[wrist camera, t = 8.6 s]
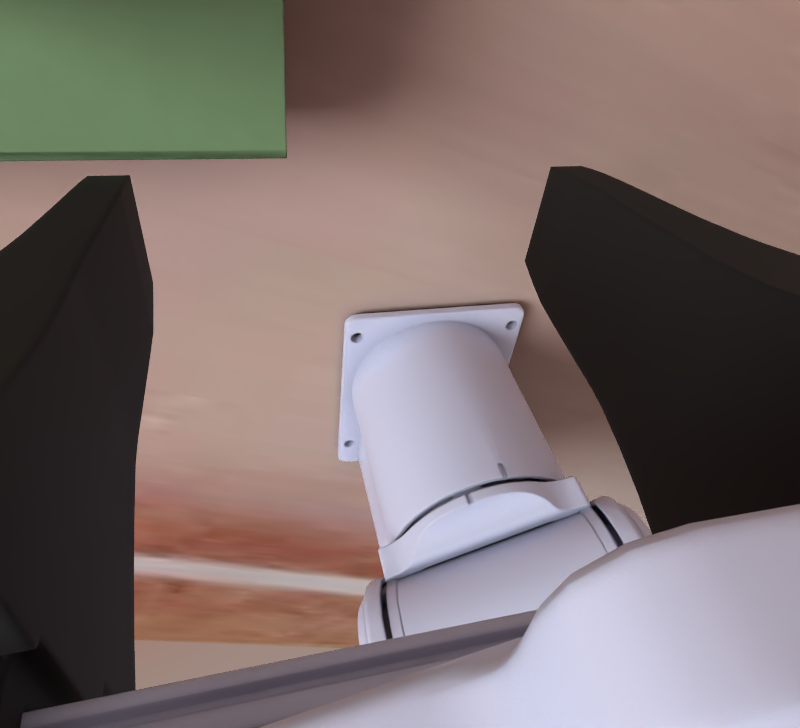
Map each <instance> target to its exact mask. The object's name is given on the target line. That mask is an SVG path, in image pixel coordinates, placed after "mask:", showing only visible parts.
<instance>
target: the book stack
mask: <svg viewBox="0 0 800 728" xmlns="http://www.w3.org/2000/svg"><path fill="white" fill-rule="evenodd" d="M253 158H287V143H286V101H285V59H284V17H283V0H0V161H54V160H154V159H253Z"/></svg>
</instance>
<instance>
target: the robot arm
mask: <svg viewBox="0 0 800 728" xmlns="http://www.w3.org/2000/svg"><path fill="white" fill-rule="evenodd" d="M525 263H526V266H527V268H528V271H529V274H530V277H531V279H532V282H533V285H534V287H535V290H536V292H537V294H538V297H539V299H540V302H541V304H542V305H543V307H544V309H545V311H546V313H547V314H548V316H549V318H550V320H551V321H552V323H553V325H554V326H555V328H556V330H557V332H558V333H559V335H560V337H561V338H562V340H563V342H564V343H565V345H566V347H567V348H568V350H569V352H570V353H571V355H572V357H573V358H574V360H575V362H576V363H577V365H578V367H579V368H580V370H581V372H582V373H583V375H584V377H585V378H586V380H587V382H588V383H589V385H590V387H591V388H592V390H593V392H594V394H595V396H596V398H597V400H598V401H599V403H600V405H601V407H602V409H603V411H604V414H605V416H606V418H607V420H608V423H609V425H610V427H611V429H612V432H613V434H614V436H615V438H616V441H617V443H618V445H619V447H620V450H621V452H622V455H623V457H624V460H625V462H626V465H627V467H628V470H629V472H630V475H631V477H632V480H633V482H634V485H635V487H636V490H637V492H638V495H639V498H640V501H641V504H642V506H643V509H644V512H645V515H646V518H647V521H648V524H649V526H650V529H651V532H652V534H651V532H650V531H649V529H648V528H647V526H646V525H645V524H644V522H643V521H642V520H641V519H640V517H639V516H638V515H637V514H636V513H635V512H634V511H633V510H632V509H630V508H629V507H627V506H624V505H622V504H620V503H618V502H616V501H615V500H613V499H612V498H610V497H608V496H601V497H599V498H597V499H594V500H592V501H590V502H589V500H588V498H587V496H586V495H585V493H584V491H583V489H582V487H581V485H580V483H579V481H578V479H577V478H576V477H575V476H572V477H568V478H565V477H564V475H563V473H562V471H561V469H560V467H559V465H558V463H557V461H556V459H555V457H554V455H553V453H552V451H551V449H550V447H549V445H548V443H547V441H546V439H545V437H544V436H543V434H542V432H541V430H540V428H539V426H538V424H537V422H536V420H535V418H534V416H533V414H532V412H531V410H530V408H529V406H528V404H527V402H526V400H525V398H524V396H523V394H522V393H521V391H520V389H519V387H518V385H517V383H516V381H515V379H514V377H513V375H512V373H511V371H510V369H509V367H508V366H509V363H510V360H511V356H512V353H513V350H514V347H515V343H516V340H517V337H518V334H519V330H520V327H521V324H522V321H523V317H524V310H523V309H522V307H521V305H519V304H518V303H507V304H493V305H479V306H465V307H450V308H436V309H422V310H408V311H394V312H380V313H366V314H355V315H352V316H350V317H348V318H347V320H346V321H345V324H344V342H343V361H342V380H341V398H340V417H339V436H338V456H339V459H340V460H341V461H344V462H351V461H358V460H359V462H360V466H361V471H362V475H363V479H364V483H365V488H366V492H367V496H368V500H369V505H370V509H371V513H372V517H373V522H374V526H375V530H376V534H377V539H378V543H379V547H380V549H379V550H378V551H379V556H380V560H381V564H382V569H383V573H384V578H381V579H378V580H375V581H372V582H371V583H369V585H368V586H367V588H366V591H365V596H364V599H363V601H362V603H361V605H360V608H359V612H358V635H359V644H360V645H358V646H353V647H348V648H343V649H339V650H334V651H329V652H324V653H319V654H314V655H309V656H304V657H299V658H294V659H289V660H284V661H279V662H274V663H269V664H264V665H259V666H254V667H249V668H244V669H239V670H234V671H229V672H224V673H219V674H214V675H209V676H204V677H199V678H194V679H189V680H184V681H179V682H174V683H169V684H164V685H159V686H154V687H149V688H144V689H139V690H135V651H134V506H135V465H136V453H137V443H138V435H139V428H140V421H141V414H142V408H143V401H144V394H145V387H146V380H147V374H148V367H149V359H150V352H151V345H152V338H153V281H152V276H151V271H150V267H149V262H148V258H147V253H146V248H145V244H144V239H143V234H142V230H141V225H140V221H139V216H138V211H137V207H136V202H135V198H134V193H133V188H132V184H131V179H130V175H124V176H87V177H86V178H85V179H83V180H82V181H81V182H79V183H78V184H77V185H76V186H75V187H74V188H73V189H72V190H70V191H69V192H68V193H67V194H66V195H65V196H64V197H63V198H62V199H61V200H60V201H59V202H57V203H56V204H55V205H54V206H53V207H52V208H51V209H50V210H49V211H48V212H46V213H45V214H44V215H43V216H42V217H41V218H40V219H39V220H37V221H36V222H35V223H34V224H33V225H32V226H31V227H30V228H28V229H27V230H26V231H25V232H24V233H23V234H21V235H20V236H19V237H18V238H16V239H15V240H14V241H13V242H11V243H10V244H9V245H7V246H6V247H5V248H4V249H2V250H1V251H0V728H800V255H796V254H794V253H791V252H788V251H785V250H782V249H779V248H776V247H773V246H770V245H767V244H764V243H761V242H758V241H756V240H753V239H751V238H748V237H745V236H743V235H740V234H738V233H735V232H733V231H730V230H728V229H726V228H723V227H721V226H719V225H716V224H714V223H711V222H709V221H707V220H704V219H702V218H700V217H698V216H695V215H693V214H691V213H689V212H687V211H684V210H682V209H680V208H678V207H676V206H674V205H672V204H669V203H667V202H665V201H663V200H661V199H659V198H657V197H655V196H652V195H650V194H648V193H646V192H644V191H642V190H640V189H638V188H635V187H633V186H631V185H629V184H627V183H625V182H622V181H620V180H618V179H616V178H613V177H611V176H609V175H606V174H604V173H601V172H599V171H596V170H593V169H590V168H586V167H582V166H565V167H551V169H550V172H549V176H548V179H547V183H546V187H545V190H544V194H543V197H542V201H541V205H540V208H539V212H538V215H537V219H536V223H535V226H534V230H533V233H532V237H531V241H530V244H529V248H528V252H527V255H526V259H525ZM511 321H513V322H512V323H510V324H508V323H509V322H511ZM356 333H361V334H360V335H358V336H352V335H354V334H356ZM349 440H350V441H349Z"/></svg>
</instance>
